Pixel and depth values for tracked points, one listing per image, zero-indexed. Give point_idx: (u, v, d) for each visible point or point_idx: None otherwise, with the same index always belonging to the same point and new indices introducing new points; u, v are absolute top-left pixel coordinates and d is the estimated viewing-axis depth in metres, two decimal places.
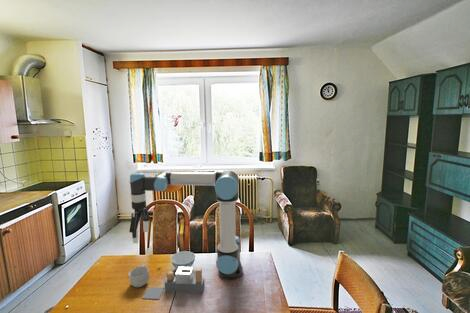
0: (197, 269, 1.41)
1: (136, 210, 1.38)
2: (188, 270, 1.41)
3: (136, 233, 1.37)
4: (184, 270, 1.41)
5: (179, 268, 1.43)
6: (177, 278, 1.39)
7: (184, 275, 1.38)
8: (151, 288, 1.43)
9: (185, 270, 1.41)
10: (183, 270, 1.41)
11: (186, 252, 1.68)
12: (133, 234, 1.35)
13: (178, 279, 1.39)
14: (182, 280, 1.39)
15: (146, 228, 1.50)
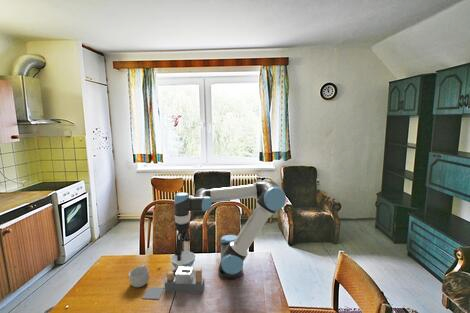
0: (197, 269, 1.41)
1: (180, 232, 1.34)
2: (188, 270, 1.41)
3: (181, 256, 1.33)
4: (184, 270, 1.41)
5: (179, 268, 1.43)
6: (177, 278, 1.39)
7: (184, 275, 1.38)
8: (151, 288, 1.43)
9: (185, 270, 1.41)
10: (183, 270, 1.41)
11: (186, 252, 1.68)
12: (178, 257, 1.31)
13: (178, 279, 1.39)
14: (182, 280, 1.39)
15: (187, 248, 1.46)
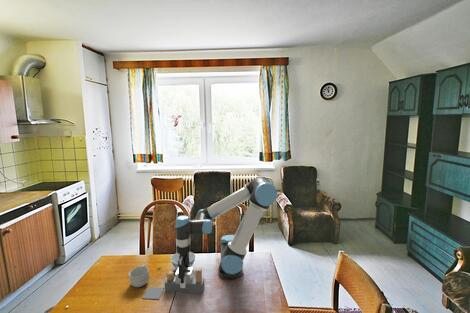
0: (197, 269, 1.41)
1: (182, 255, 1.36)
2: (188, 270, 1.41)
3: (184, 278, 1.38)
4: None
5: None
6: (177, 278, 1.39)
7: None
8: (151, 288, 1.43)
9: (185, 270, 1.41)
10: None
11: None
12: (181, 280, 1.37)
13: (178, 279, 1.39)
14: None
15: None
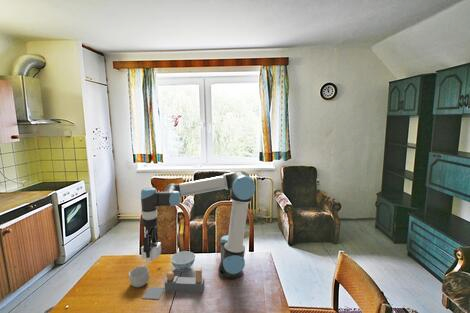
0: (197, 269, 1.41)
1: (147, 228, 1.30)
2: (155, 244, 1.34)
3: (150, 253, 1.32)
4: (151, 244, 1.34)
5: None
6: (143, 253, 1.33)
7: None
8: (151, 288, 1.43)
9: (152, 244, 1.34)
10: None
11: (186, 252, 1.68)
12: (147, 254, 1.31)
13: (144, 254, 1.33)
14: None
15: None
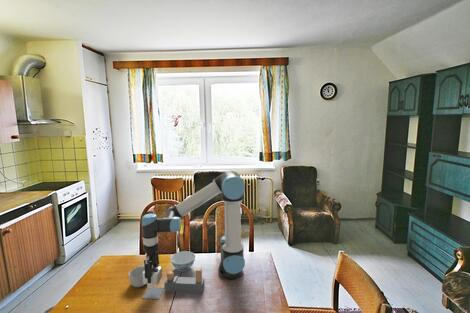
0: (197, 269, 1.41)
1: (148, 254, 1.32)
2: (156, 270, 1.36)
3: (151, 278, 1.34)
4: (152, 270, 1.36)
5: None
6: (144, 278, 1.35)
7: None
8: (151, 288, 1.43)
9: (153, 270, 1.36)
10: None
11: (186, 252, 1.68)
12: (148, 279, 1.33)
13: (146, 279, 1.35)
14: None
15: None
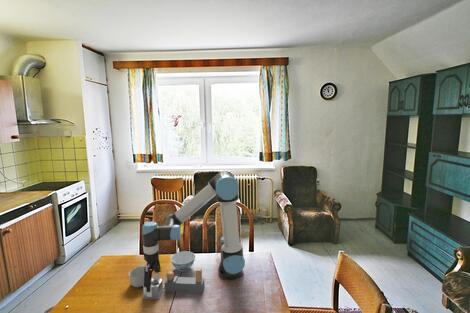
0: (197, 269, 1.41)
1: (149, 262, 1.33)
2: (157, 282, 1.37)
3: (150, 287, 1.33)
4: (153, 282, 1.38)
5: None
6: (145, 291, 1.36)
7: (152, 288, 1.35)
8: None
9: (154, 282, 1.38)
10: (152, 282, 1.38)
11: (186, 252, 1.68)
12: (147, 288, 1.32)
13: None
14: None
15: None
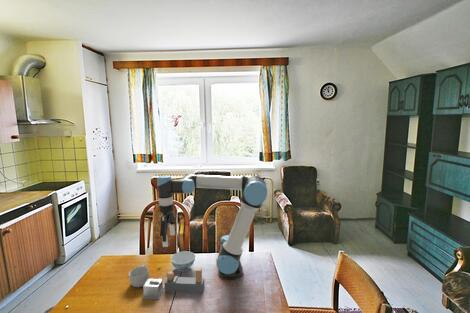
0: (197, 269, 1.41)
1: (165, 213, 1.37)
2: (157, 282, 1.37)
3: (166, 237, 1.35)
4: (153, 282, 1.38)
5: (148, 280, 1.40)
6: (145, 291, 1.36)
7: (152, 288, 1.35)
8: None
9: (154, 282, 1.38)
10: (152, 282, 1.38)
11: (186, 252, 1.68)
12: (163, 238, 1.34)
13: (146, 292, 1.36)
14: (150, 293, 1.36)
15: (173, 231, 1.49)
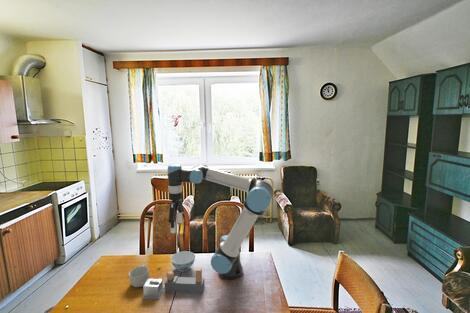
0: (197, 269, 1.41)
1: (174, 201, 1.42)
2: (157, 282, 1.37)
3: (174, 223, 1.40)
4: (153, 282, 1.38)
5: (148, 280, 1.40)
6: (145, 291, 1.36)
7: (152, 288, 1.35)
8: None
9: (154, 282, 1.38)
10: (152, 282, 1.38)
11: (186, 252, 1.68)
12: (171, 224, 1.39)
13: (146, 292, 1.36)
14: (150, 293, 1.36)
15: (180, 219, 1.54)
